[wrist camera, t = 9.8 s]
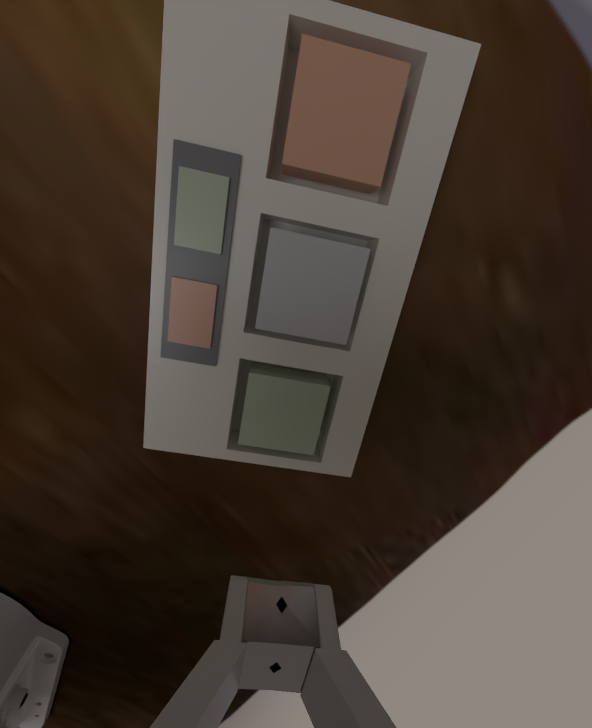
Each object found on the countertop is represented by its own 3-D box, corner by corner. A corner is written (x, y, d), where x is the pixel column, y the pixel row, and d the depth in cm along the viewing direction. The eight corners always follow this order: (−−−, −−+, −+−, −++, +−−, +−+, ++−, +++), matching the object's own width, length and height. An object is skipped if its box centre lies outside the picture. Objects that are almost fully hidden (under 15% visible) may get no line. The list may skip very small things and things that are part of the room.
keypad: (342, 448, 25) (352, 481, 21) (163, 421, 24) (140, 451, 20) (443, 85, 17) (486, 38, 14) (190, 16, 16) (162, -56, 12)
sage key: (311, 438, 22) (313, 455, 21) (242, 428, 22) (237, 444, 20) (326, 374, 21) (330, 386, 19) (252, 362, 20) (249, 372, 19)
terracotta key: (370, 194, 17) (380, 186, 16) (282, 174, 17) (281, 163, 15) (395, 86, 16) (411, 63, 14) (300, 61, 15) (302, 33, 14)
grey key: (340, 336, 19) (346, 345, 17) (257, 321, 18) (254, 328, 16) (361, 249, 17) (370, 248, 15) (272, 230, 17) (270, 227, 15)
